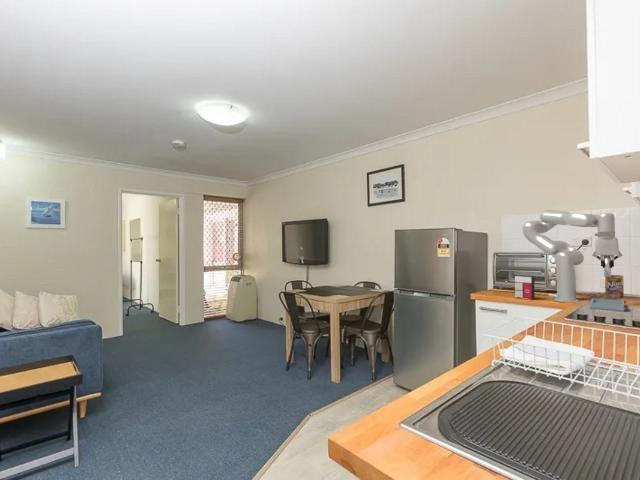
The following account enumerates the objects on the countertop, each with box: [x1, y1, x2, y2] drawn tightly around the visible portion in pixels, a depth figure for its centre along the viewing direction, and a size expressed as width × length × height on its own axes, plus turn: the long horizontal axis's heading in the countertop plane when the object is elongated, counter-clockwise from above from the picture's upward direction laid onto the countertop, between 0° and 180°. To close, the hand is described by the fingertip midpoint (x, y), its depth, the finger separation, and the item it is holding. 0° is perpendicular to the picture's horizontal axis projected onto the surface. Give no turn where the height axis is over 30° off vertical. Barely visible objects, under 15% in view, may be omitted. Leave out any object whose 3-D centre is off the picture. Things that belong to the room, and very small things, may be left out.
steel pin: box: [603, 255, 612, 278], centre depth 194 cm, size 5×5×13 cm
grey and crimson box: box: [513, 274, 536, 300], centre depth 226 cm, size 11×4×15 cm, turn 37°
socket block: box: [597, 292, 621, 300], centre depth 208 cm, size 10×10×5 cm
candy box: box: [604, 274, 625, 299], centre depth 224 cm, size 9×4×15 cm, turn 56°
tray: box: [589, 298, 625, 313], centre depth 193 cm, size 14×18×4 cm
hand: (607, 267), depth 194 cm, fingers closed on steel pin, 3 cm apart
